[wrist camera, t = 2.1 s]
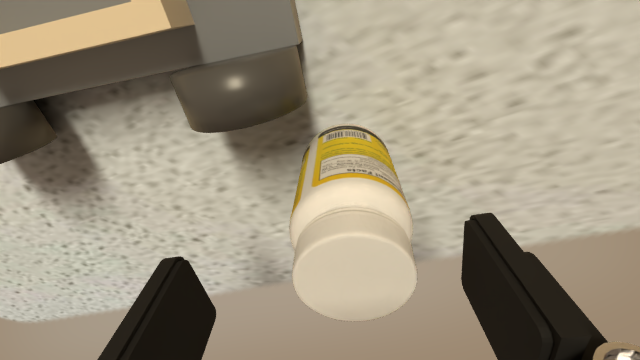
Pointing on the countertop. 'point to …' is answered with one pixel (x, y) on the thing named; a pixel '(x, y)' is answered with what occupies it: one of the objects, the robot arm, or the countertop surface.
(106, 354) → the robot arm
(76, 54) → the toy chassis
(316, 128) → the countertop surface
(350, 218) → the supplement bottle
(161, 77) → the countertop surface
